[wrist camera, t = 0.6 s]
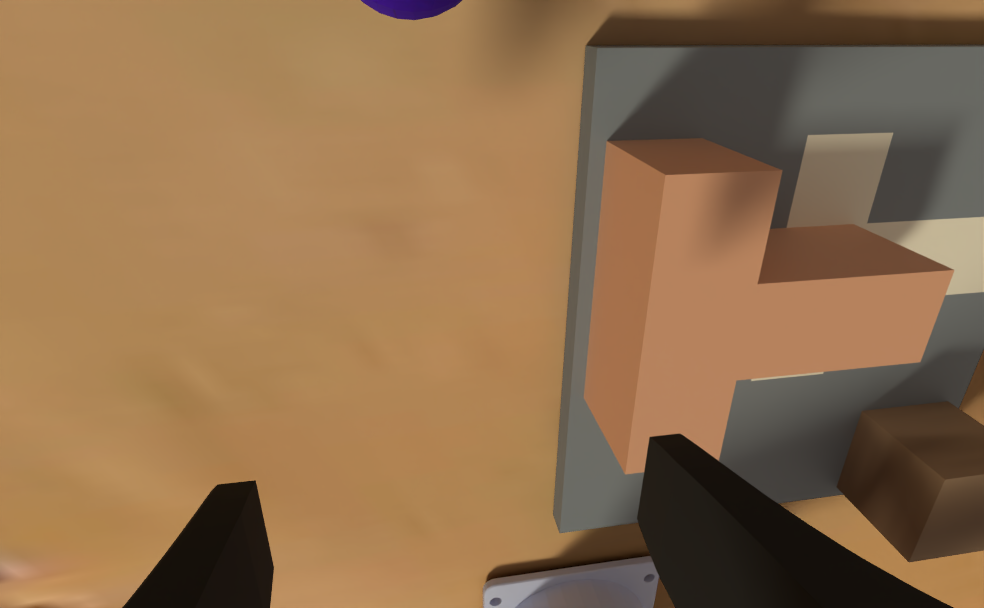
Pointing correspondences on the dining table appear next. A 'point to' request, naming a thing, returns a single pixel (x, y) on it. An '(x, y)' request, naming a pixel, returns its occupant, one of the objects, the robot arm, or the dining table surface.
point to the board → (800, 203)
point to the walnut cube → (919, 478)
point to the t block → (730, 294)
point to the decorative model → (411, 7)
